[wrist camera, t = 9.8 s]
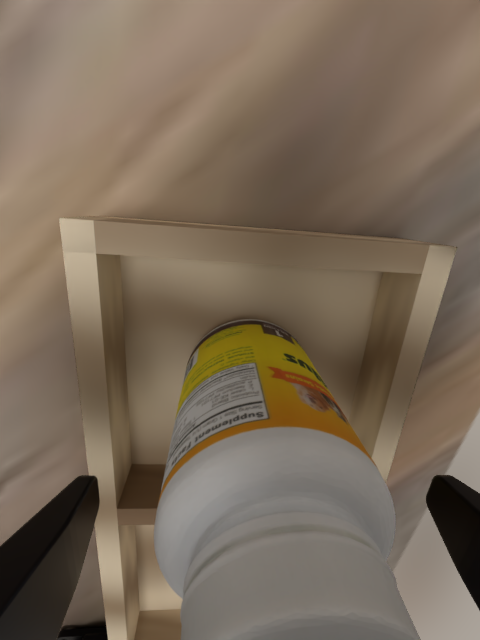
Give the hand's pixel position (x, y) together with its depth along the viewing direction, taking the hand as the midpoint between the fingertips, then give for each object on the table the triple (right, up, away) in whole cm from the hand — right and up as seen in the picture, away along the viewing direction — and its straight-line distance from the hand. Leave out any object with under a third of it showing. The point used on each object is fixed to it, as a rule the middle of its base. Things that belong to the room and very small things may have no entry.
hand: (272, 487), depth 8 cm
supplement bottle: (-1, +2, +6) cm, 7 cm away
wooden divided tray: (-1, -3, +9) cm, 10 cm away
